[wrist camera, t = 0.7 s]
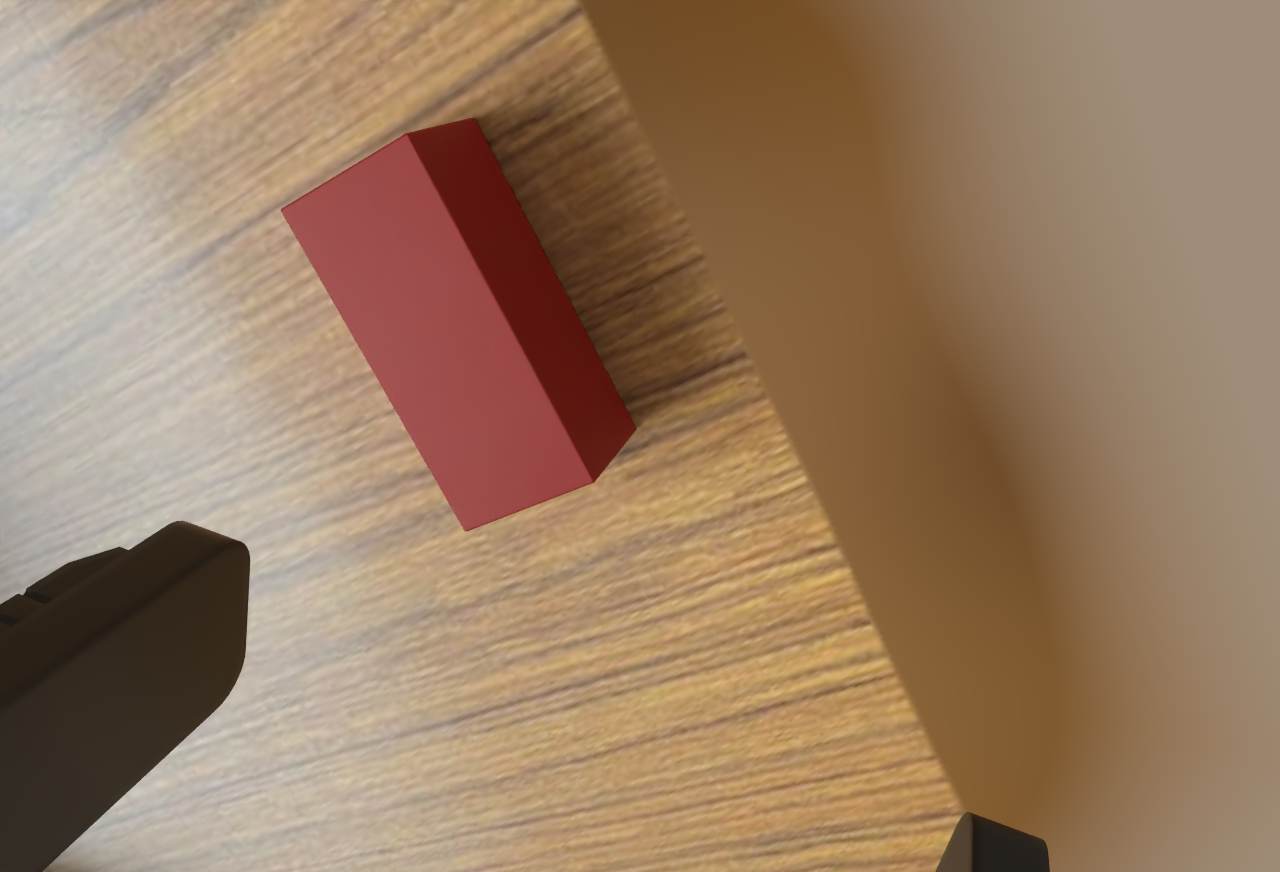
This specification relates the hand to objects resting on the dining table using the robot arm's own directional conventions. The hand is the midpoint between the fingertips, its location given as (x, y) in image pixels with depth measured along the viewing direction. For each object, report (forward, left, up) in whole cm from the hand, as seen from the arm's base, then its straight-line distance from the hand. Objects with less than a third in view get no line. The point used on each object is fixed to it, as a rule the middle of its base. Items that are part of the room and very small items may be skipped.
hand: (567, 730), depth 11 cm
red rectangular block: (+3, -8, -16) cm, 18 cm away
